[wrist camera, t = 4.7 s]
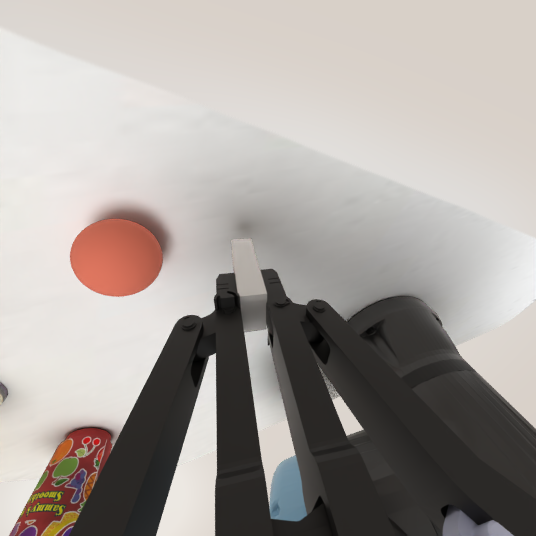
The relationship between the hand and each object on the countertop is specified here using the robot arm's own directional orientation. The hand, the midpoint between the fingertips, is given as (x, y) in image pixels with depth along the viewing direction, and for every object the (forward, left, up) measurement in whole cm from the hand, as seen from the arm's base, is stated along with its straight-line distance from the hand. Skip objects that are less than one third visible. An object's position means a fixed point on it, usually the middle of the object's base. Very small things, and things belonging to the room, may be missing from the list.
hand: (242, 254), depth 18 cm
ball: (+9, 0, -2) cm, 9 cm away
